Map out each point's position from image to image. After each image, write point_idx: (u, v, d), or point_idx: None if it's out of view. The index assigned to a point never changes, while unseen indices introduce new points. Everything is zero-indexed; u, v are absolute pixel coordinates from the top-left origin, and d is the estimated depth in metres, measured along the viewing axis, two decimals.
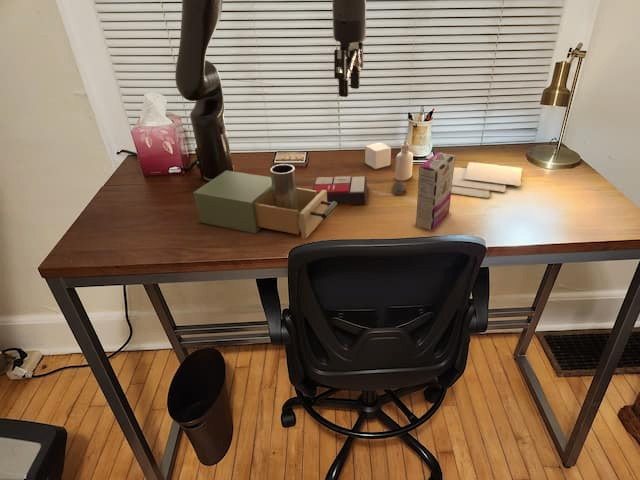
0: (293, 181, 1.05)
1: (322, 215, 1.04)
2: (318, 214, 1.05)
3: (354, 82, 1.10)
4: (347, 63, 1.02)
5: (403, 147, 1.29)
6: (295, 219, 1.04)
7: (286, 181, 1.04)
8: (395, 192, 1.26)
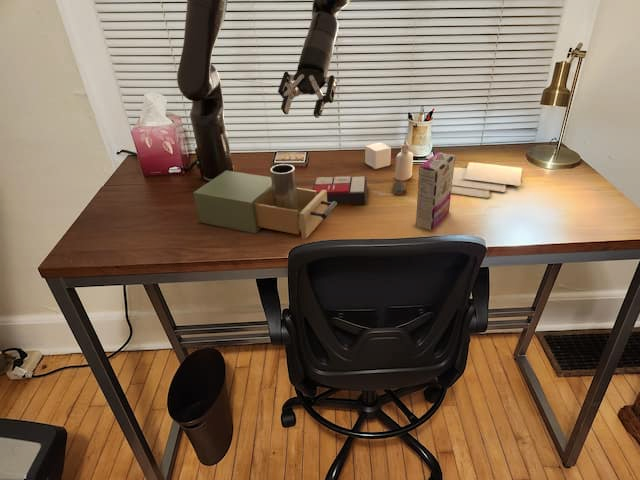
0: (293, 181, 1.05)
1: (322, 215, 1.04)
2: (318, 214, 1.05)
3: (287, 107, 1.09)
4: None
5: (403, 147, 1.29)
6: (295, 219, 1.04)
7: (286, 181, 1.04)
8: (395, 192, 1.26)
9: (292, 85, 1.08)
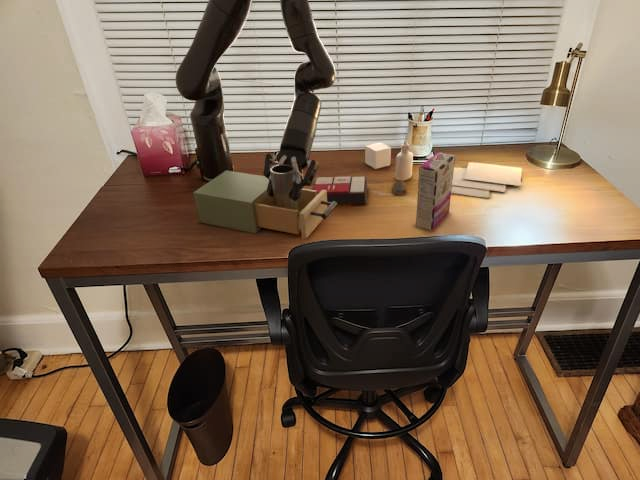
0: (293, 181, 1.05)
1: (322, 215, 1.04)
2: (318, 214, 1.05)
3: None
4: (300, 170, 1.08)
5: (403, 147, 1.29)
6: (295, 219, 1.04)
7: (286, 181, 1.04)
8: (395, 192, 1.26)
9: None
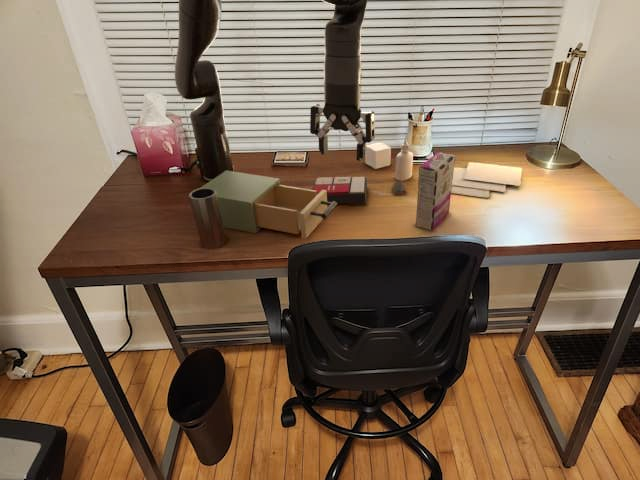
0: (214, 206, 0.99)
1: (322, 215, 1.04)
2: (318, 214, 1.05)
3: (325, 147, 0.98)
4: (354, 125, 0.94)
5: (403, 147, 1.29)
6: (295, 219, 1.04)
7: (206, 207, 0.98)
8: (395, 192, 1.26)
9: (325, 127, 0.94)
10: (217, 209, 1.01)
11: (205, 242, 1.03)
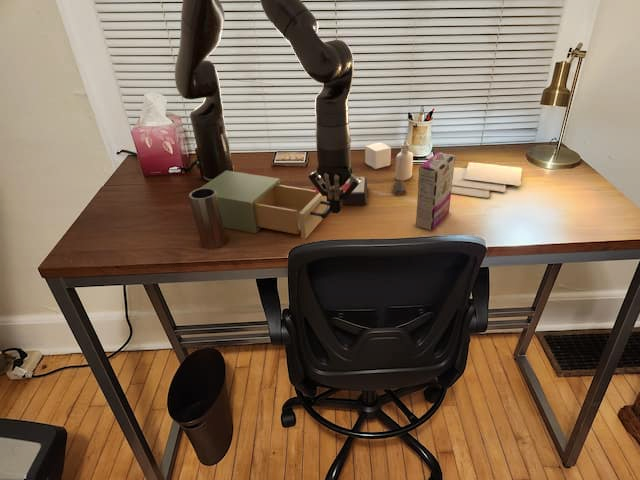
0: (214, 206, 0.99)
1: (322, 215, 1.04)
2: (318, 214, 1.05)
3: None
4: None
5: (403, 147, 1.29)
6: (295, 219, 1.04)
7: (206, 207, 0.98)
8: (395, 192, 1.26)
9: (327, 188, 1.02)
10: (217, 209, 1.01)
11: (205, 242, 1.03)
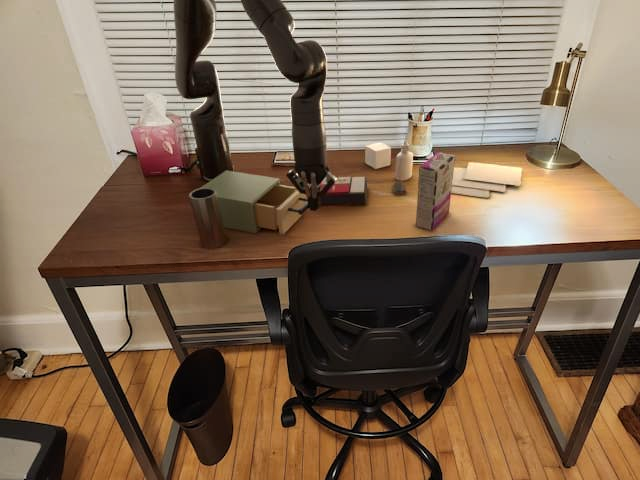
0: (214, 206, 0.99)
1: (299, 211, 1.06)
2: (295, 210, 1.06)
3: None
4: (323, 179, 1.03)
5: (403, 147, 1.29)
6: (272, 215, 1.06)
7: (206, 207, 0.98)
8: (395, 192, 1.26)
9: (305, 186, 1.03)
10: (217, 209, 1.01)
11: (205, 242, 1.03)
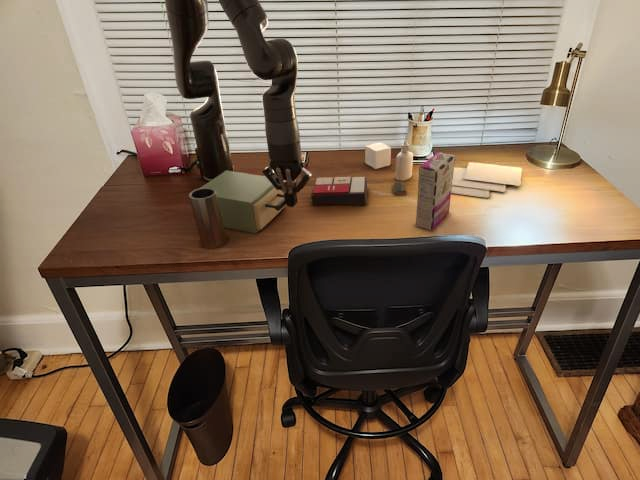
0: (214, 206, 0.99)
1: (276, 207, 1.08)
2: (272, 206, 1.08)
3: None
4: (298, 175, 1.05)
5: (403, 147, 1.29)
6: None
7: (206, 207, 0.98)
8: (395, 192, 1.26)
9: (281, 182, 1.05)
10: (217, 209, 1.01)
11: (205, 242, 1.03)
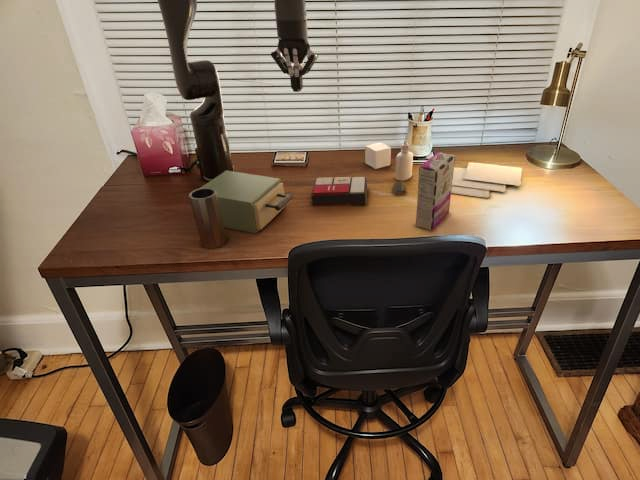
0: (214, 206, 0.99)
1: (276, 207, 1.08)
2: (272, 206, 1.08)
3: None
4: (304, 58, 1.12)
5: (403, 147, 1.29)
6: None
7: (206, 207, 0.98)
8: (395, 192, 1.26)
9: (288, 64, 1.12)
10: (217, 209, 1.01)
11: (205, 242, 1.03)
